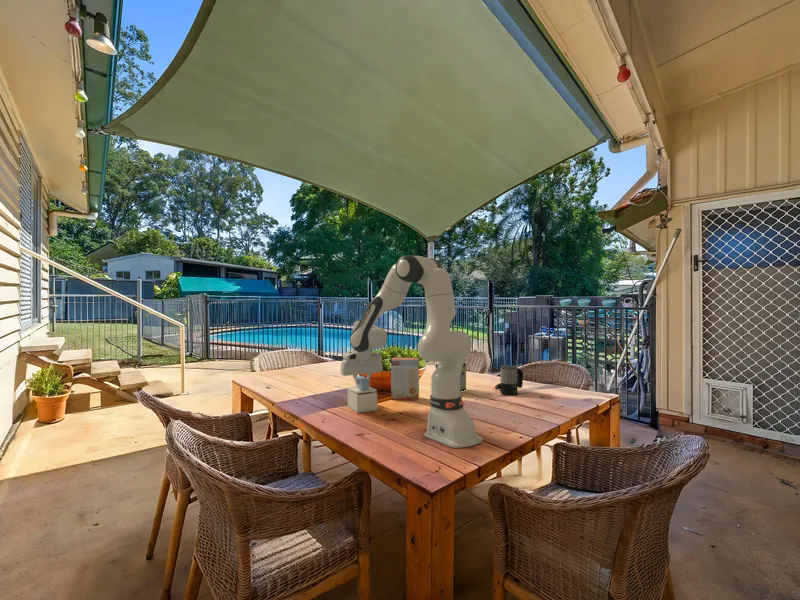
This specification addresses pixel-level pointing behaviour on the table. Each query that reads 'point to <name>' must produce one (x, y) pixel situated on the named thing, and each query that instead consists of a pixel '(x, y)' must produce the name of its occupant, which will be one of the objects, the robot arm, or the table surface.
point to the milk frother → (510, 380)
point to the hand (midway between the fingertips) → (362, 383)
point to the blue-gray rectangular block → (362, 382)
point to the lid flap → (361, 390)
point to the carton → (362, 401)
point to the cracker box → (405, 378)
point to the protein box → (462, 378)
